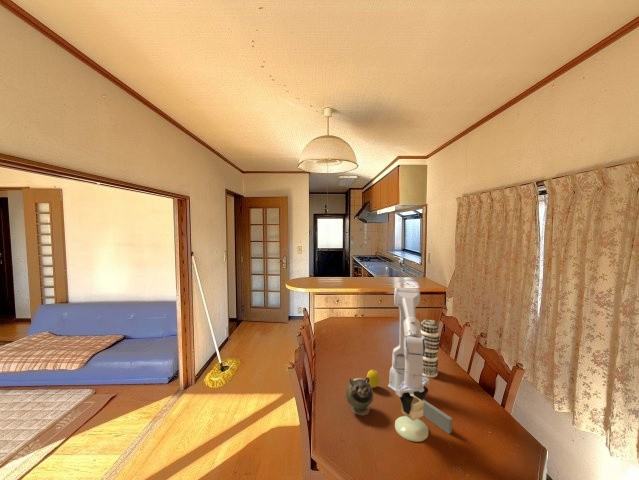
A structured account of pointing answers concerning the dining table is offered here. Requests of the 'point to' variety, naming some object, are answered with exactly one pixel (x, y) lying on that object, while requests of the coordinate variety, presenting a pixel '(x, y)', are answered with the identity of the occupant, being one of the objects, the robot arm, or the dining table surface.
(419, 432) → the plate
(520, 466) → the dining table surface
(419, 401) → the cube
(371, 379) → the lemon
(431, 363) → the decorative candle
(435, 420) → the grey rectangular bar
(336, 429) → the dining table surface
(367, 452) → the dining table surface
